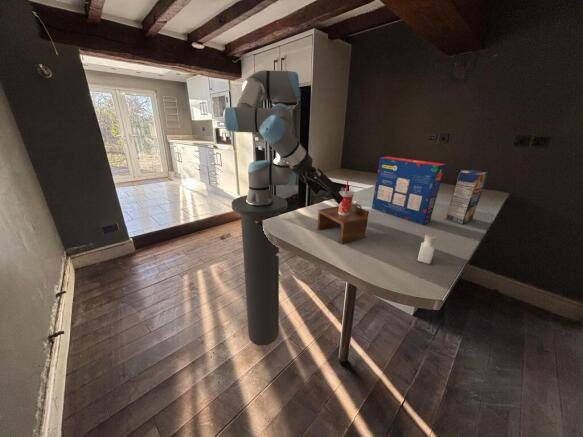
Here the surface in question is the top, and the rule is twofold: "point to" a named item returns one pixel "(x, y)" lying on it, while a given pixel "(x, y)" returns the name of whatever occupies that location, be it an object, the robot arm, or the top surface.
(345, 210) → the beverage cup
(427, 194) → the blue flat box
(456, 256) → the top surface
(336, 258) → the top surface
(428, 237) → the pepper shaker
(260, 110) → the robot arm
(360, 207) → the cup
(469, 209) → the juice carton
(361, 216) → the shelf
